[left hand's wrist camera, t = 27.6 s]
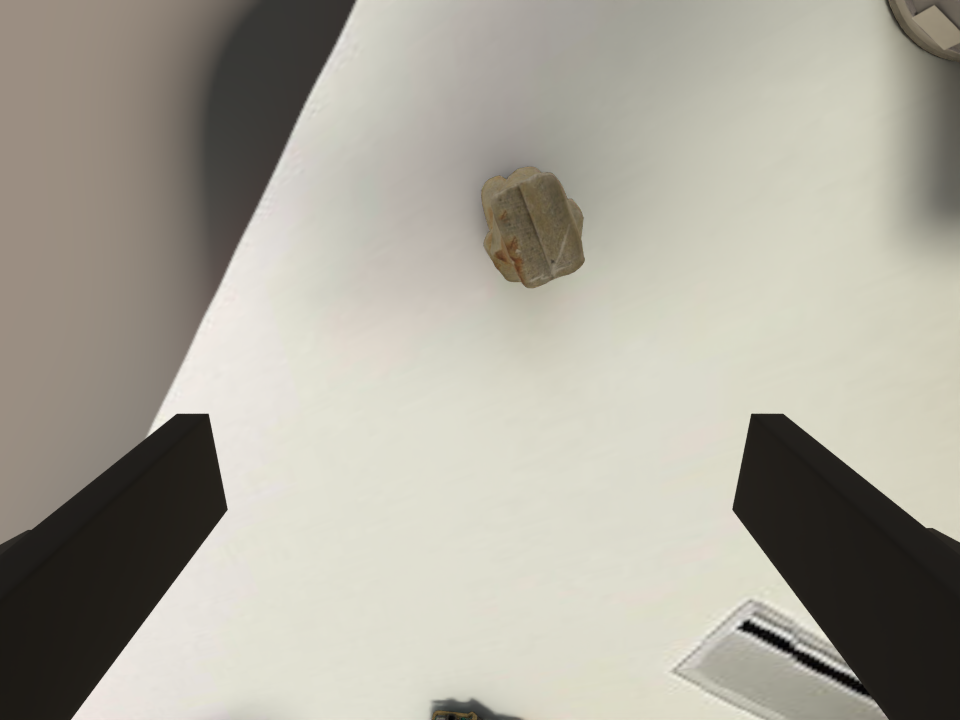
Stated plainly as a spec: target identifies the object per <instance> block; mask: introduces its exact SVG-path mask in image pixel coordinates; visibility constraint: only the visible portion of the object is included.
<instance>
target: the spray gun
mask: <svg viewBox="0 0 960 720" xmlns="http://www.w3.org/2000/svg"><path fill="white" fill-rule="evenodd" d="M437 715H445V716H446V718H442V717H438V718H436V719H435V716H437ZM460 717H463V718H461V720H466V719H465V718H470V717H472V719H470V720H482V719H481V718H479V717H478V716H477V715H476V714H475V713H474V712H470V713H468V714H465V713H457V712H448V711H440V710H439V711H436V712H434V714H433V716H432V720H459V719H460Z"/></svg>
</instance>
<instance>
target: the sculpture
mask: <svg viewBox="0 0 960 720" xmlns="http://www.w3.org/2000/svg"><path fill="white" fill-rule="evenodd" d="M481 197H482V204H483V209H484V213H485V217H486V220H487V224H488V227H489V230H490V231H489V233H488V234H487V235H486V238H485V240H484V247H485V250H486V251H487V253H488V255H489V256H490V258H491V259H492V261H493V263H494V265H495V267H496V268H497V269H498V270H499V271H500V272H501V274H502V275H503V276H504V278H505V279H506V280H508V281H510V282H522V283H523V285H524V286H525V287H527V288H535V287H538V286H541V285H543V284H545V283H547V282H549V281H551V280H553V279H555V278H558V277H561V276H565V275H569V274H571V273H573V272H575V271H576V270H577V269H579V268H580V267H581V266H582V265H583V263H584V261H585V258H584V255H583V248H582V241H581V235H582V227H583V216H582V212H581V210H580V208H579V207H578V205H577V204H576V203H575V202H574V201H573V200H572V199H567V196H566V193H565V191H564V189H563V186H562V185H561V183H560V182H559V180H558V179H557V178H556V177H555V175H554V174H552V173H549V172H545V173H541V172H540V171H539V170H538V169H537V168H535V167H524V168H519V169H517V170H516V171H514V172H513V174H511V175H510V176H509V177H508V178H507V180H506V179H505V178H503V177H501V176H496V177H493V178H491V179H489V180H488V181H487V182H486V183H485V184H484V186H483V188H482V193H481Z"/></svg>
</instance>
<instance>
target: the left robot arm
mask: <svg viewBox="0 0 960 720" xmlns="http://www.w3.org/2000/svg"><path fill="white" fill-rule="evenodd" d="M888 1H889V4H890V7H891V9H892V12H893V14H894V16H895V18H896V20H897V21H898V23H899V25H900V26H901V28H902V29H903V30H904V32H905V33H906V34H907V35H908V36H909V37H910V38H911V39H912V40H913V41H914V42H915V43H916V44H917V45H919V46H920V47H921V48H922V49H924V50H926V51H928V52H929V53H931V54H933V55H936V56H938V57H941V58H944V59H948V60H952V61H959V62H960V0H888ZM227 510H228V509H227V504H226V499H225V494H224V489H223V484H222V479H221V474H220V469H219V464H218V458H217V453H216V448H215V443H214V438H213V433H212V428H211V423H210V418H209V414H176V415H175V416H174V417H172V418H171V419H170V420H169V421H167V422H166V423H165V424H164V425H162V426H161V427H160V428H159V429H157V430H156V431H155V432H154V433H152V434H151V435H150V436H149V437H147V438H146V439H145V440H144V441H142V442H141V443H140V444H139V445H137V446H136V447H135V448H134V449H132V450H131V451H130V452H129V453H127V454H126V455H125V456H124V457H122V458H121V459H120V460H119V461H117V462H116V463H115V464H114V465H112V466H111V467H110V468H109V469H107V470H106V471H105V472H104V473H102V474H101V475H100V476H99V477H97V478H96V479H95V480H94V481H92V482H91V483H90V484H89V485H87V486H86V487H85V488H83V489H82V490H81V491H80V492H79V493H77V494H76V495H75V496H73V497H72V498H71V499H70V500H69V501H67V502H66V503H65V504H63V505H62V506H61V507H60V508H58V509H57V510H56V511H55V512H53V513H52V514H51V515H50V516H48V517H47V518H46V519H45V520H43V521H42V522H41V523H40V524H38V525H37V526H36V527H35V528H33V529H32V530H27V531H25V532H23V533H21V534H20V535H18V536H16V537H14V538H12V539H10V540H8V541H6V542H5V543H3V544H1V545H0V720H71V719H72V718H73V716H74V715H75V714H76V712H77V711H78V709H79V708H80V707H81V705H82V704H83V703H84V701H85V700H86V699H87V697H88V696H89V695H90V693H91V692H92V691H93V689H94V688H95V687H96V685H97V684H98V683H99V681H100V680H101V679H102V677H103V676H104V675H105V673H106V672H107V671H108V669H109V668H110V667H111V665H112V664H113V663H114V661H115V660H116V659H117V657H118V656H119V655H120V653H121V652H122V651H123V649H124V648H125V647H126V645H127V644H128V642H129V641H130V640H131V638H132V637H133V636H134V634H135V633H136V632H137V630H138V629H139V628H140V626H141V625H142V624H143V622H144V621H145V620H146V618H147V617H148V616H149V614H150V613H151V612H152V610H153V609H154V608H155V606H156V605H157V604H158V602H159V601H160V600H161V598H162V597H163V596H164V594H165V593H166V592H167V590H168V589H169V588H170V586H171V585H172V584H173V582H174V581H175V580H176V578H177V577H178V576H179V574H180V573H181V571H182V570H183V569H184V567H185V566H186V565H187V563H188V562H189V561H190V559H191V558H192V557H193V555H194V554H195V553H196V551H197V550H198V549H199V547H200V546H201V545H202V543H203V542H204V541H205V539H206V538H207V537H208V535H209V534H210V533H211V531H212V530H213V529H214V527H215V526H216V525H217V523H218V522H219V521H220V519H221V518H222V517H223V515H224V514H225V513H226V511H227ZM732 510H733V511H734V513H735V514H736V515H737V517H738V518H739V519H740V521H741V522H742V523H743V525H744V526H745V527H746V529H747V530H748V531H749V533H750V534H751V535H752V537H753V538H754V539H755V541H756V542H757V543H758V545H759V546H760V547H761V549H762V550H763V551H764V553H765V554H766V555H767V557H768V558H769V559H770V561H771V562H772V563H773V565H774V566H775V567H776V569H777V570H778V571H779V573H780V574H781V576H782V577H783V578H784V580H785V581H786V582H787V584H788V585H789V586H790V588H791V589H792V590H793V592H794V593H795V594H796V596H797V597H798V598H799V600H800V601H801V602H802V604H803V605H804V606H805V608H806V609H807V610H808V612H809V613H810V614H811V616H812V617H813V618H814V620H815V621H816V622H817V624H818V625H819V626H820V628H821V629H822V630H823V632H824V633H825V634H826V636H827V637H828V638H829V640H830V641H831V642H832V644H833V645H834V647H835V648H836V649H837V651H838V652H839V653H840V655H841V656H842V657H843V659H844V660H845V661H846V663H847V664H848V665H849V667H850V668H851V669H852V671H853V672H854V673H855V675H856V676H857V677H858V679H859V680H860V681H861V683H862V684H863V685H864V687H865V688H866V689H867V691H868V692H869V693H870V695H871V696H872V697H873V699H874V700H875V701H876V703H877V704H878V705H879V707H880V708H881V709H882V711H883V712H884V714H885V715H886V716H887V718H888V719H889V720H960V542H958V541H956V540H954V539H952V538H950V537H948V536H947V535H945V534H943V533H941V532H939V531H937V530H935V529H933V528H925V527H924V526H923V525H922V524H920V523H919V522H918V521H917V520H915V519H914V518H913V517H912V516H910V515H909V514H908V513H907V512H905V511H904V510H903V509H902V508H900V507H899V506H898V505H897V504H895V503H894V502H893V501H892V500H890V499H889V498H888V497H887V496H885V495H884V494H883V493H882V492H880V491H879V490H878V489H877V488H875V487H874V486H873V485H871V484H870V483H869V482H868V481H866V480H865V479H864V478H863V477H861V476H860V475H859V474H858V473H856V472H855V471H854V470H853V469H851V468H850V467H849V466H848V465H846V464H845V463H844V462H843V461H841V460H840V459H839V458H838V457H836V456H835V455H834V454H833V453H831V452H830V451H829V450H828V449H826V448H825V447H824V446H823V445H821V444H820V443H819V442H818V441H816V440H815V439H814V438H813V437H811V436H810V435H809V434H808V433H806V432H805V431H804V430H803V429H801V428H800V427H799V426H798V425H796V424H795V423H794V422H793V421H791V420H790V419H789V418H788V417H786V416H785V415H784V414H751V418H750V423H749V428H748V433H747V438H746V443H745V448H744V453H743V458H742V463H741V469H740V474H739V479H738V484H737V489H736V494H735V499H734V504H733V509H732Z"/></svg>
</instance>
